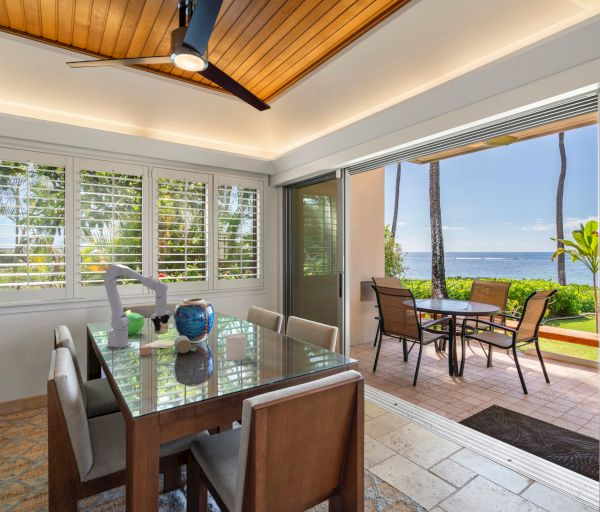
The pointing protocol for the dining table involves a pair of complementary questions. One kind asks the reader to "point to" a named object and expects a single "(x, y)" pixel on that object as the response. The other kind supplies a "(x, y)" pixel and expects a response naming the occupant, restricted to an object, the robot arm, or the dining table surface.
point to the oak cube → (162, 329)
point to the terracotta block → (145, 350)
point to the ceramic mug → (183, 344)
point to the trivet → (160, 344)
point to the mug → (236, 346)
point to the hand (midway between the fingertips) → (160, 329)
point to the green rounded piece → (134, 322)
